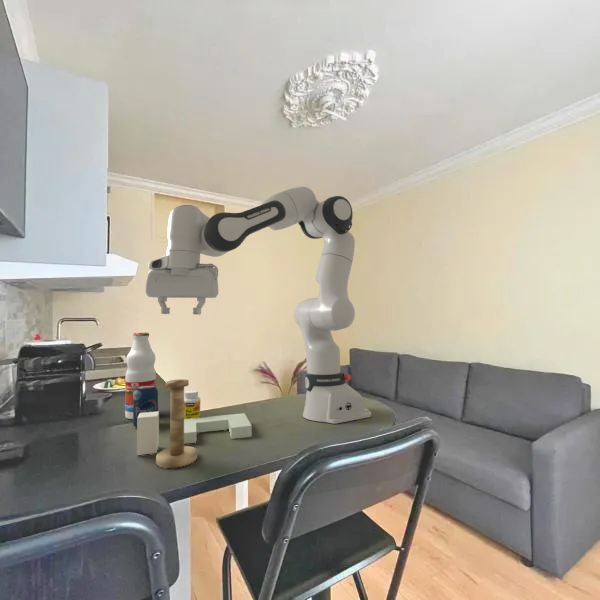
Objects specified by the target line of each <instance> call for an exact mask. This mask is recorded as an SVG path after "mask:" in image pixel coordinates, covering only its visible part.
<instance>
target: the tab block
mask: <svg viewBox="0 0 600 600" xmlns="http://www.w3.org/2000/svg"><path fill="white" fill-rule="evenodd" d="M159 432H160V411H159V410H158V411H157V412H146V413H140V414H139V415H138V417H137V429H136V456H137V455H142V454H149V453H154V452H157V450H158V451H159V448H158V446H159V447H160V445H159V444H160V441H159V440H160V436H159V435H160V433H159ZM157 453H158V452H157ZM142 456H143V455H142Z"/></svg>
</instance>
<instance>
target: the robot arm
mask: <svg viewBox="0 0 600 600" xmlns="http://www.w3.org/2000/svg"><path fill="white" fill-rule="evenodd" d="M168 216H169V217H168V222H167V233H166V234H167V235H166V236H167V240H168V244H167V245H168V246H167V248H166V255H163V256H161V257H158V258H155V259H154V260H153V259H152V260H151V261H149V262H148V269H150V270H149V271H148V273H147V275H146V279H145V294H146V296H147V297H149V298H157V302H158V305H159V307H160V308H161V312H160V313H161V314H162V315H170V313H171V312H170V311H171V310H170V309H171V307H168V305H167V304H166V303H167V302H168V301H167V300H168V298H170V299H171V298H174V299H176V298H177V299H178V298H180V299H182V298H186V299H187V298H189V299H193V298H196V300H197V301H196V302H198V303H197V305H196V306H195V307H193V308H192V311H193V312H192V315H199V316H200V315H201V314H202V308H204V305H205V303H206V299H207V298H208V299H210V298H212V299H215V298H217V296H218V295H219V282H218V277H219V269H218V266H217V265H215V264H213V263H201V262H200V261H201V255H204V256H209V257H212V258H215V257H216V258H217V257H218V258H219V257H222V256H223V255H225V254H227V253H228V252H230V251H233V250H235V249H237V248H238V247H240V246H241V244H243V242H244V241H245V240H246V239H247V237H248V236H249V235H252V234H255V233H257V232H259V231H261V230H263V229H267V228H269V229H271V230H273V231H279V230H283V229H286V228H289V227H290V228H291V227H292V226H294V225H296V224H298V225H299V226H300V228H301V231H302V233H303V234H304V235H305V236H306V237H308V239H313V240H316V239H317V240H318V239H323V249H322V251H321V255H320V259H319V261H318V262H319V263H318V266H317V270H316V273H315V274H316V275H315V279H316V282H317V283H318V284H319V293H318V296H317V297H314V298H313V297H311V298H307V299H305V300H301V302H299V303H297V305H296V306H295V308H294V311H293V317H294V321H295V322H296V324H297V325H298V327H299V328H300V330H301V331H300V332H301V335H302V336H303V341H304V345H305V352H306V372H305V381H304V382H305V390H306V396H305V401H304V402H305V403H304V407H303V408H304V409H303V412H302V417H303V418H305V419H306V420H310V421H313V422H322V423H329V424H332V425H333V424H335V425H336V424H341V423H345V422H351V421H355V420H357V421H358V420H362V419H366V418H371V417H372V412H371V411H370V409H368V408H367V407H365V402H364V400H363V399H364V398H363V397H362V395H361V394H360V393H359V392H358V391H357V390H355V389H354V388H352V386H350V385H349V384H347V382H346V381H351V379H352V376H351V374H349V373H345V372H342V371H341V349H340V347H339V346H338V344H337V343H336V342H335V340H334V338H333V335H332V332H331V331H333V332H335V331H340V330H344V329H346V328H349V327H350V326H351V325H352V323H353V322H354V320H355V317H356V315H355V314H356V312H355V307H354V305H353V303H352V302H351V300H350V299H349V294H348V283H349V278H350V273H351V269H352V266H353V261H354V256H355V255H354V254H355V243H356V242H355V237H354V236H353V234H352V233H351V232H350V229H352V226H353V222H352V221H353V208H352V205H351V203H350V201H349V200H348V199H347V198H346V197H344V196H342V195H334V196H330V197H328V198H327V199H325V200H323V201H319V200H317V197H316V195H315V193H314V191H313V190H312V189H311V188H309V187H306V186H299V187H292V188H288V189H285V190H283V191H280V192H278V193H275V194H273V195H271V196H270V197H268V198H266V199H265V200H264V201H262V202H261V204H260V205H258V206H256V207H255V206H254V207H252V208H250V209H247V210H244V211H241V212H225V211H224V212H219V213H218V212H217V213H215V214H214V215H212V216H211V217H209V216H207V215H206V214H205V213H203V211H202V210H201V209H200V208H199V207H198V206H195V205H191V204H185V205H179V206H176V207H174V208H173V209H172V210H171V211H170V213H169V215H168Z"/></svg>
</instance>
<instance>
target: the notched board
mask: <svg viewBox="0 0 600 600" xmlns="http://www.w3.org/2000/svg"><path fill="white" fill-rule="evenodd" d="M226 428H228V429H229V431H228V433H229V432H230V434H229V436H230V439H231V440H237V439H244V438H251V437H253V436H252V435H253V430H252V424H251V422H250V420H249V419H248V417H247V415H246V413H245V412H244V413H243V412H242V413H234V414H233V413H232V414H231V413H230V414H224V415H212V416H205V417H201V416H200V418H191V419H184V442H194V441H198V440H197V439H198V438H197V435H198V433H197V430H207V429H226ZM236 438H237V439H236Z"/></svg>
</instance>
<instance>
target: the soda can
mask: <svg viewBox="0 0 600 600" xmlns="http://www.w3.org/2000/svg"><path fill="white" fill-rule="evenodd" d="M156 385H157V384H156ZM156 385H141V386H137V387H136V389H135V391H134V393H133V419H132V424H133V426H134V427H136V428H137V417H138V415H139V414H140V413H146V412H157V411H159V391H158V388H157V386H156ZM136 428H135V429H136Z"/></svg>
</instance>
